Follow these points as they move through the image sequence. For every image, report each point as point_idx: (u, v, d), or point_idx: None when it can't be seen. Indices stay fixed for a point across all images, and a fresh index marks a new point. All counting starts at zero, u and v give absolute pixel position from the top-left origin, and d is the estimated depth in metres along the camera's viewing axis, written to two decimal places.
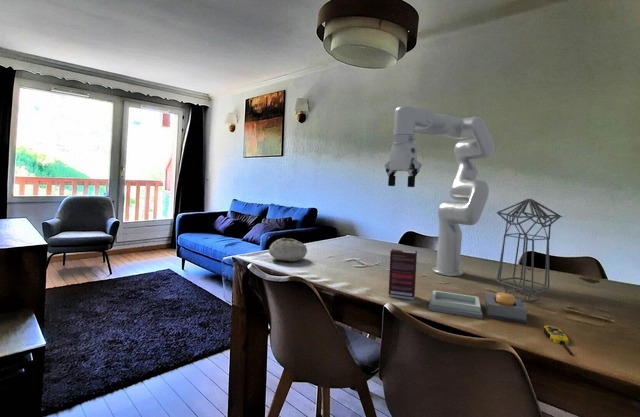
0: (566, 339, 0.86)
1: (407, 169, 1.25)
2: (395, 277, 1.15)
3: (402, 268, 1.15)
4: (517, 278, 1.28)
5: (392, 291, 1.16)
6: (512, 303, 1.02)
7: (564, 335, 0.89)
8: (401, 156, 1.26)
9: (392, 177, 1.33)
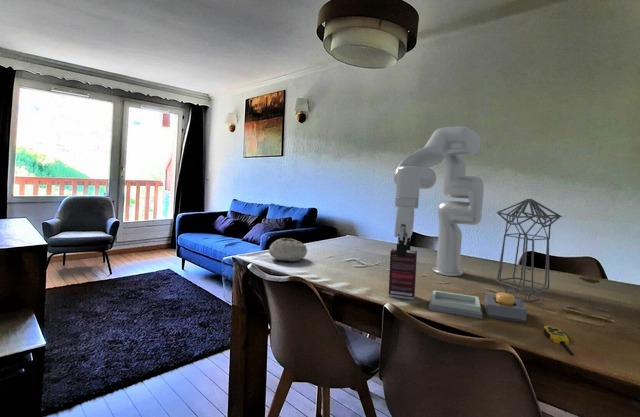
0: (566, 339, 0.86)
1: None
2: (395, 277, 1.15)
3: (401, 268, 1.15)
4: (517, 278, 1.28)
5: (392, 291, 1.16)
6: (512, 303, 1.02)
7: (564, 335, 0.89)
8: (413, 221, 1.16)
9: None
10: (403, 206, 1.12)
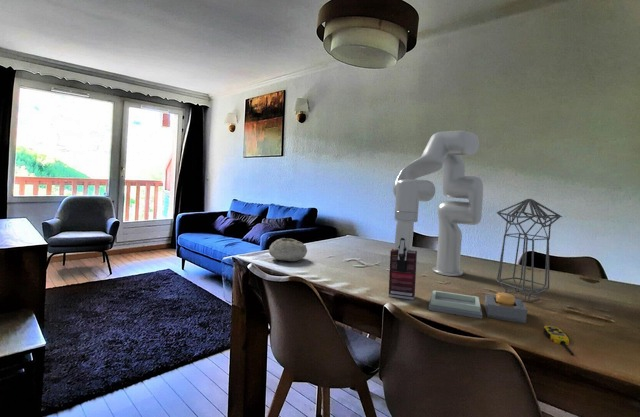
0: (566, 339, 0.86)
1: None
2: (395, 277, 1.15)
3: None
4: (517, 278, 1.28)
5: (392, 291, 1.16)
6: (512, 303, 1.02)
7: (564, 335, 0.89)
8: None
9: None
10: (402, 220, 1.12)
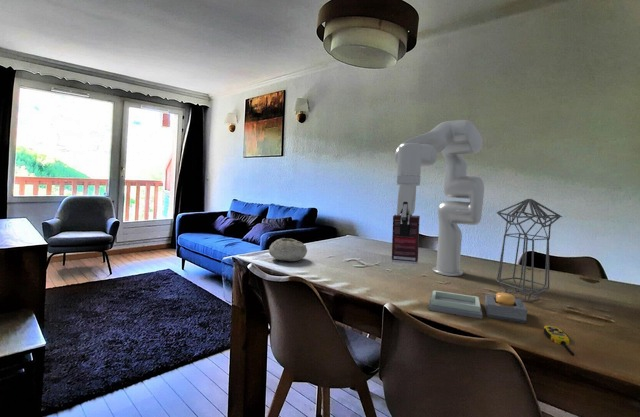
0: (567, 339, 0.86)
1: None
2: (397, 242, 1.15)
3: None
4: (517, 278, 1.28)
5: (395, 256, 1.16)
6: (512, 303, 1.02)
7: (564, 335, 0.88)
8: (415, 199, 1.16)
9: None
10: (405, 184, 1.11)
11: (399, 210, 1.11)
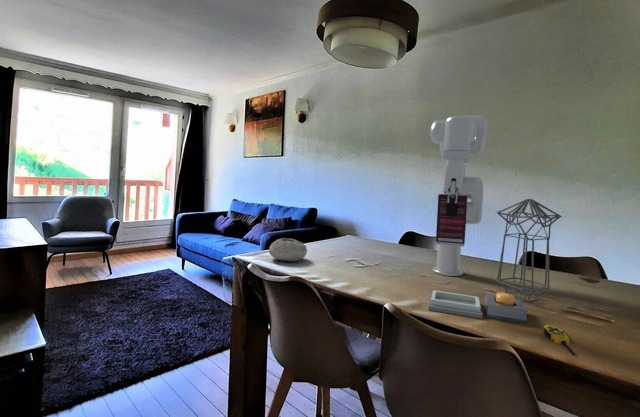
0: (567, 339, 0.86)
1: None
2: (443, 223, 1.07)
3: None
4: (517, 278, 1.28)
5: (440, 238, 1.08)
6: (512, 303, 1.02)
7: (565, 335, 0.88)
8: None
9: None
10: (453, 159, 1.04)
11: (446, 187, 1.04)
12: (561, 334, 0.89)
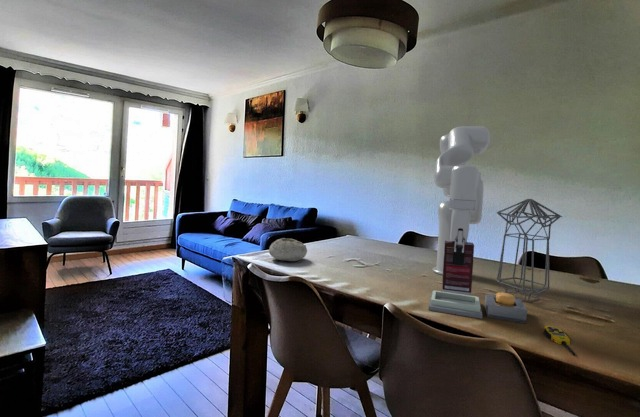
0: (567, 339, 0.86)
1: None
2: (449, 271, 1.07)
3: None
4: (517, 278, 1.28)
5: (447, 286, 1.08)
6: (512, 303, 1.02)
7: (565, 335, 0.88)
8: None
9: None
10: (460, 209, 1.04)
11: (453, 237, 1.04)
12: (561, 334, 0.89)
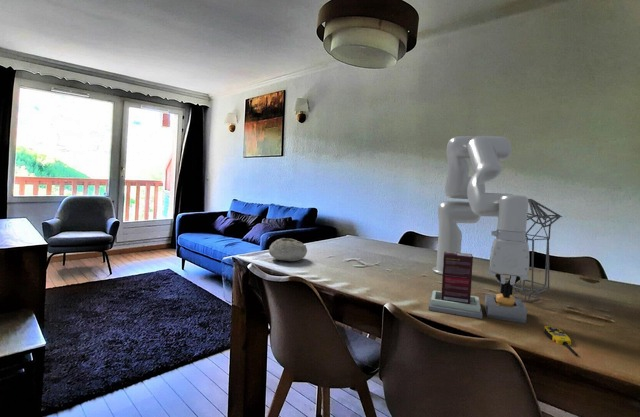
0: (568, 339, 0.86)
1: None
2: (448, 282, 1.08)
3: (456, 273, 1.07)
4: None
5: (446, 297, 1.08)
6: (512, 304, 1.02)
7: (565, 335, 0.88)
8: None
9: None
10: None
11: (528, 271, 1.00)
12: (562, 335, 0.88)
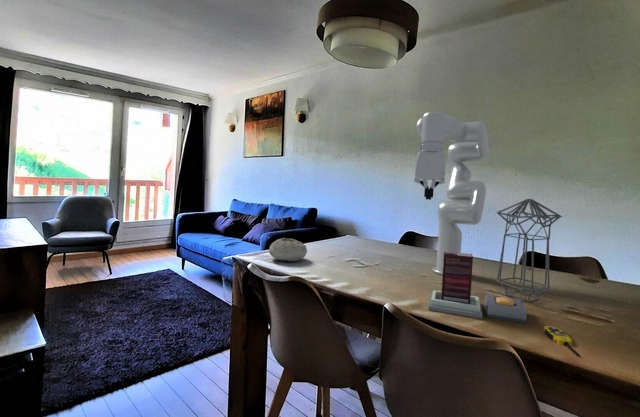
0: (569, 340, 0.86)
1: None
2: (448, 282, 1.08)
3: (456, 273, 1.07)
4: (517, 278, 1.28)
5: (446, 297, 1.08)
6: None
7: (566, 336, 0.88)
8: None
9: None
10: (442, 150, 1.20)
11: (444, 175, 1.19)
12: (563, 335, 0.88)
